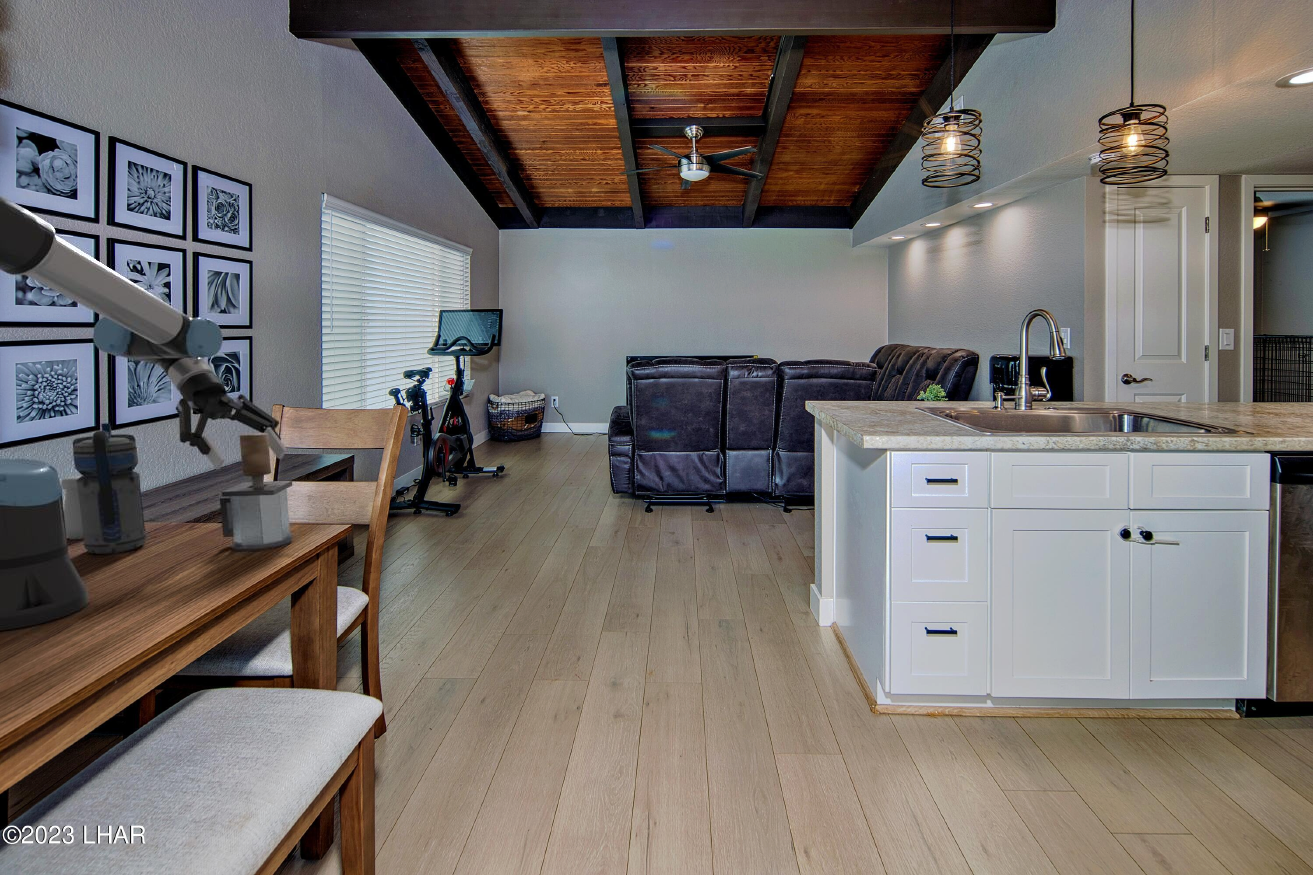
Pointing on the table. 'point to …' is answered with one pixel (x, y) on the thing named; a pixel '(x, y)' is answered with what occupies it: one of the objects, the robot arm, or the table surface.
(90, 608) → the table surface
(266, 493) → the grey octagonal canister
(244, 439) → the plunger
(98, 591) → the table surface
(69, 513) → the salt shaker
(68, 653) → the table surface
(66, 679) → the table surface
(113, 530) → the beverage bottle
